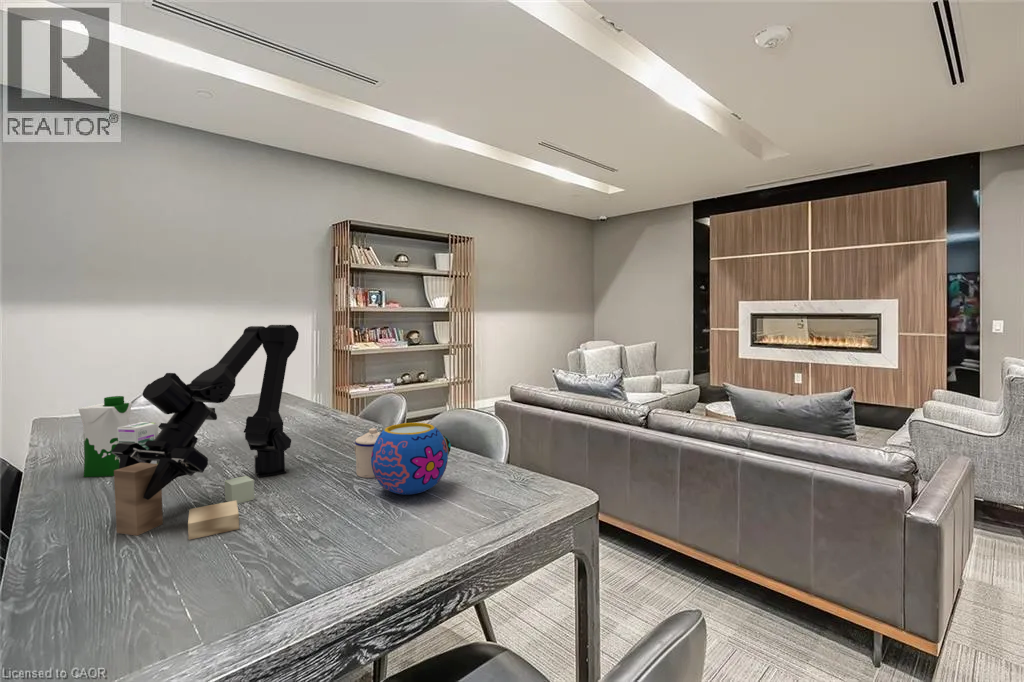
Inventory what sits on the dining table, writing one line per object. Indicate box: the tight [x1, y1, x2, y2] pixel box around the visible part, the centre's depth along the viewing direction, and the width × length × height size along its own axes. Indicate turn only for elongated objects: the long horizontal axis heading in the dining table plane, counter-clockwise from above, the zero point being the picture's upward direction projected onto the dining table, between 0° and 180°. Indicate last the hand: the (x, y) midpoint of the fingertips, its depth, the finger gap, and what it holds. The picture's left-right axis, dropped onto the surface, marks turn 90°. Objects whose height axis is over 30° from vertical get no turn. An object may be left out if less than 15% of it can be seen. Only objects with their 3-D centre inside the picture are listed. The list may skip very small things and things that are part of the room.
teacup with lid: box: [354, 427, 381, 479], centre depth 123 cm, size 12×9×12 cm
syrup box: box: [117, 421, 159, 464], centre depth 116 cm, size 6×6×14 cm
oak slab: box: [187, 500, 240, 541], centre depth 91 cm, size 8×8×3 cm
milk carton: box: [78, 395, 132, 478], centre depth 123 cm, size 9×9×20 cm
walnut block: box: [113, 463, 164, 536], centre depth 90 cm, size 5×5×12 cm
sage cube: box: [224, 475, 255, 505], centre depth 105 cm, size 4×4×4 cm
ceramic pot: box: [371, 422, 452, 496], centre depth 109 cm, size 18×18×15 cm
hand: (131, 497), depth 89 cm, fingers open, 7 cm apart
